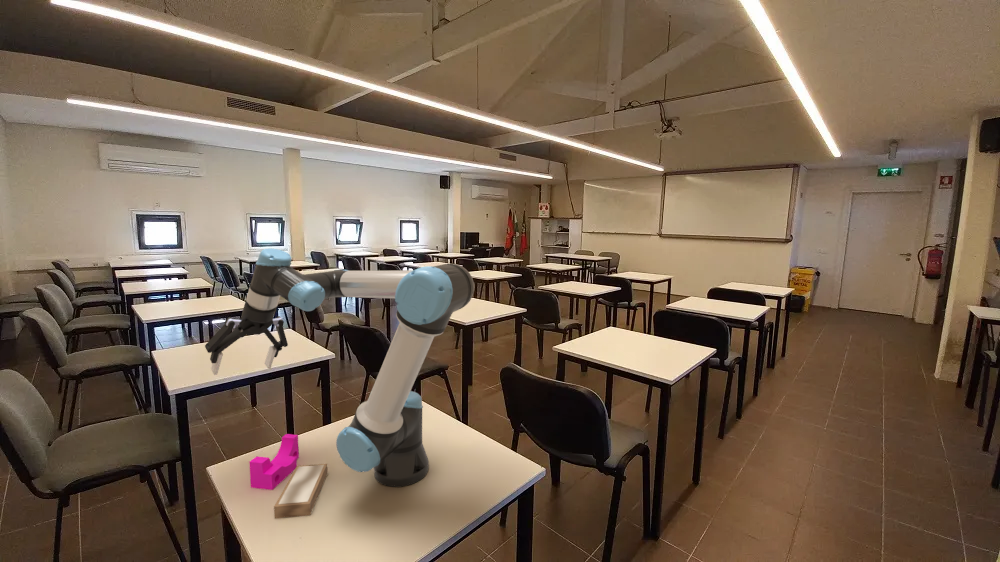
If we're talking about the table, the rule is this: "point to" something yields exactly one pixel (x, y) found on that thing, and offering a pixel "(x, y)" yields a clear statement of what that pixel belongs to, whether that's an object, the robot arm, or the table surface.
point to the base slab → (301, 491)
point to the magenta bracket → (275, 465)
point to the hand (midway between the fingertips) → (242, 368)
